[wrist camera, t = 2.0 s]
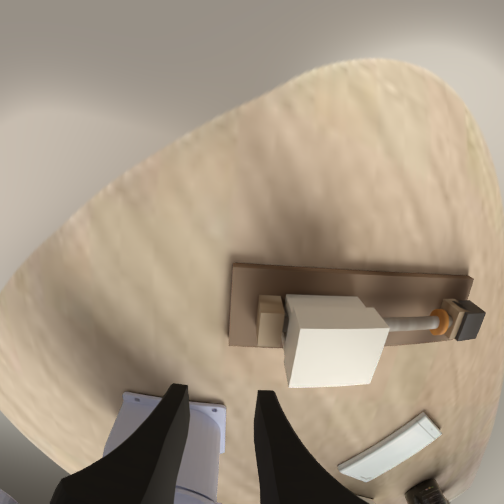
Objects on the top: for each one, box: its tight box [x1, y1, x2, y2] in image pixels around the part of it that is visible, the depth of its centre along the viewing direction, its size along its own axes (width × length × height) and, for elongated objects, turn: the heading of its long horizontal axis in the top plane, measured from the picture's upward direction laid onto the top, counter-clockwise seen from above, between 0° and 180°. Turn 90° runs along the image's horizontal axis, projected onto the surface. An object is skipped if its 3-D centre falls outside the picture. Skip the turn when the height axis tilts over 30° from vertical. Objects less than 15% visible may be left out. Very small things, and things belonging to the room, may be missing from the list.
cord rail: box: [229, 263, 486, 348], centre depth 19 cm, size 20×6×4 cm, turn 86°
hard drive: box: [338, 412, 442, 482], centre depth 27 cm, size 2×8×12 cm
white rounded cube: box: [281, 294, 390, 388], centre depth 17 cm, size 5×4×5 cm
